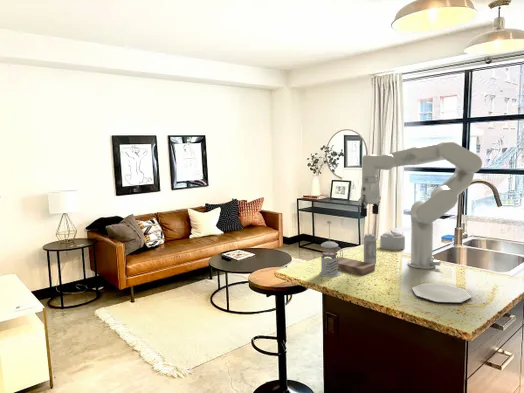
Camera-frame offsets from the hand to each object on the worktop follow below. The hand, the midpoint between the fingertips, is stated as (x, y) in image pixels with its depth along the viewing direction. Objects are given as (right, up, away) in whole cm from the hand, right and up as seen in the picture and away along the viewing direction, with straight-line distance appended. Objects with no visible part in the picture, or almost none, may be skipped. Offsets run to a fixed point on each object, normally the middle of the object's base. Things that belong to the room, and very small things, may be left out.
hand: (369, 215), depth 189 cm
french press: (-21, -27, -10) cm, 35 cm away
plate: (+16, -29, -40) cm, 52 cm away
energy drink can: (+1, -25, +2) cm, 25 cm away
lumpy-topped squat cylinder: (+23, -21, +34) cm, 46 cm away
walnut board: (-10, -26, -4) cm, 28 cm away
